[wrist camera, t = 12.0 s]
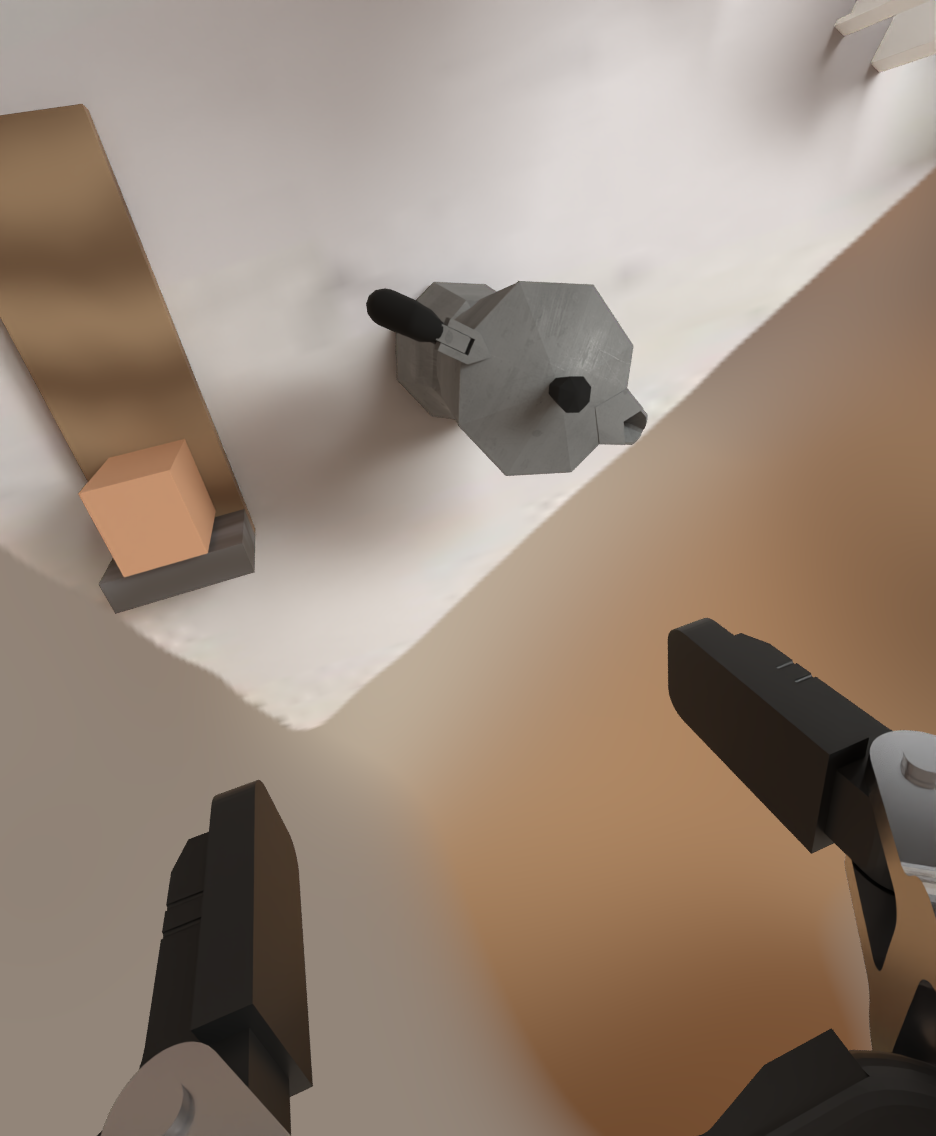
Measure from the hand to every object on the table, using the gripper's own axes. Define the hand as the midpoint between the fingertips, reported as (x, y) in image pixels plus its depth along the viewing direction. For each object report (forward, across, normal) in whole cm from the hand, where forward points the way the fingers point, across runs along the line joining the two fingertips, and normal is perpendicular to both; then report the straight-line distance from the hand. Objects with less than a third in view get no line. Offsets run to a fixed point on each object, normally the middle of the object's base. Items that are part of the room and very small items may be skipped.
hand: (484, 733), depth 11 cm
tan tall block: (+32, +11, +2) cm, 34 cm away
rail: (+33, +11, -5) cm, 35 cm away
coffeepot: (+33, -9, -2) cm, 35 cm away
